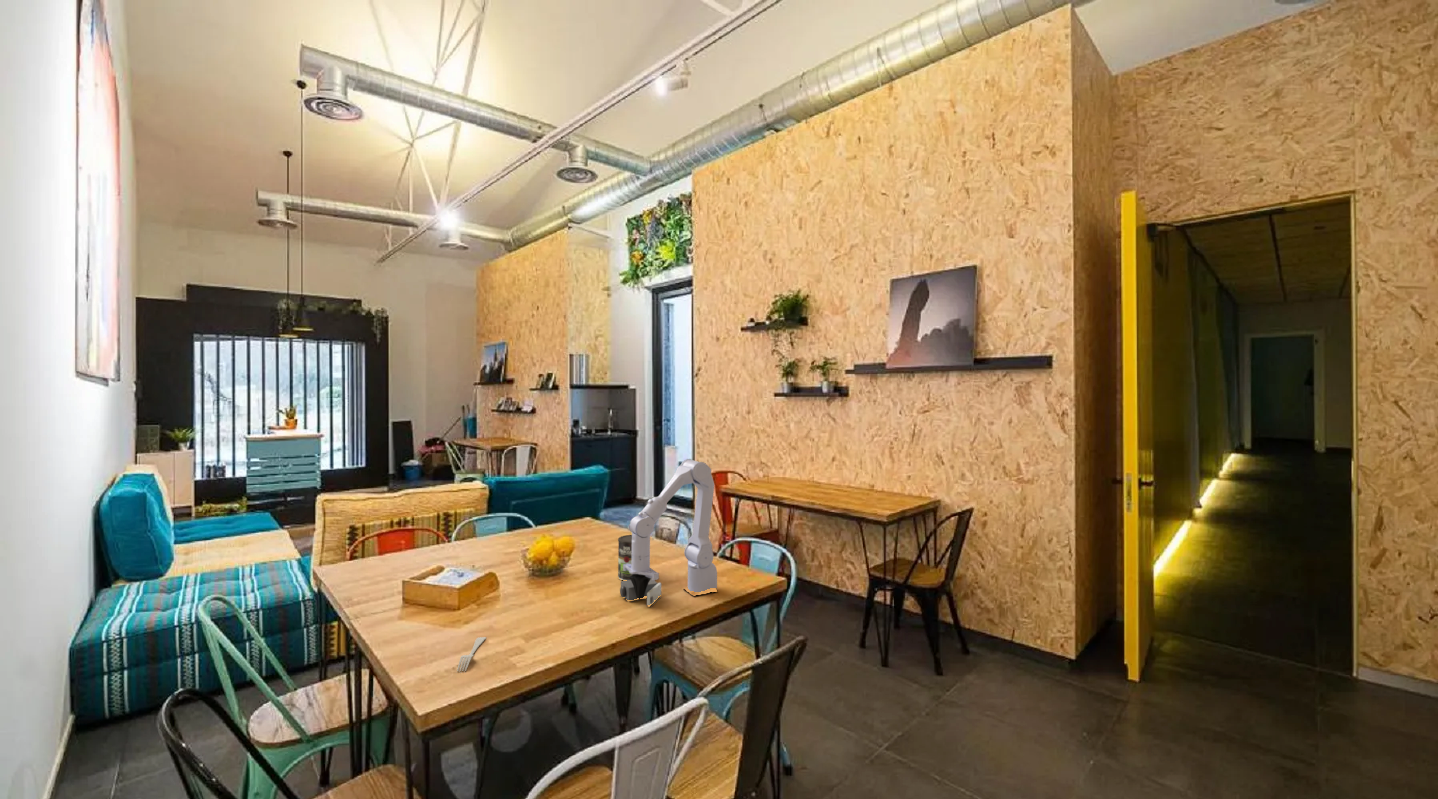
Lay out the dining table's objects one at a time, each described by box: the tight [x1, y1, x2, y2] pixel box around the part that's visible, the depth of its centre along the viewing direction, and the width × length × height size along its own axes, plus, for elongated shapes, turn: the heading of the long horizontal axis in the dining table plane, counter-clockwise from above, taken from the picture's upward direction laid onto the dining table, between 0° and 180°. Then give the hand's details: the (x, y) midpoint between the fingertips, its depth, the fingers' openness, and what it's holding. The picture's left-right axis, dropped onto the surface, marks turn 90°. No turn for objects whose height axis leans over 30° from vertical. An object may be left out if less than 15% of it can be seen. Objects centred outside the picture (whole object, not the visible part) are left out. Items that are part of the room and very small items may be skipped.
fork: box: [456, 636, 487, 672], centre depth 151 cm, size 3×21×3 cm, turn 8°
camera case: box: [619, 579, 659, 601], centre depth 193 cm, size 11×7×4 cm, turn 120°
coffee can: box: [617, 534, 632, 581], centre depth 212 cm, size 10×10×14 cm
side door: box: [646, 582, 662, 606], centre depth 188 cm, size 10×2×4 cm, turn 165°
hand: (640, 597), depth 187 cm, fingers closed
